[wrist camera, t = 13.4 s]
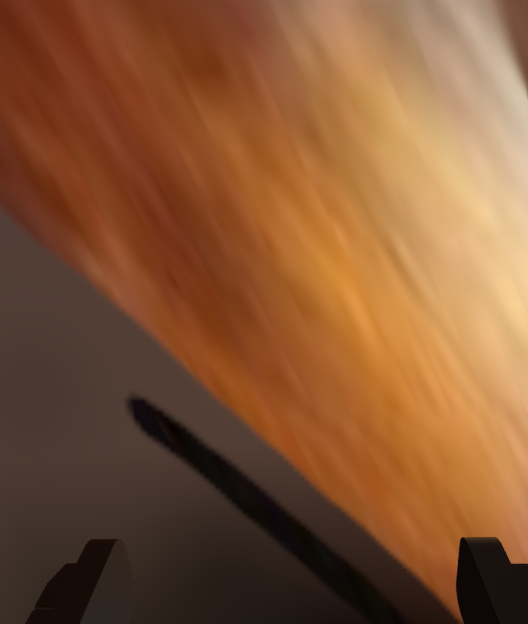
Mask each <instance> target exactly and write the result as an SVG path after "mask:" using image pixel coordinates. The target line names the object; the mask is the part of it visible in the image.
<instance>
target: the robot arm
mask: <svg viewBox="0 0 528 624" xmlns="http://www.w3.org/2000/svg"><path fill="white" fill-rule="evenodd" d="M456 592H457V600H458V605H459V609H460V613H461V616H462V619H463V622H464V624H528V564H511V563H510V561H509V558H508V556H507V554H506V552H505V550H504V548H503V546H502V544H501V542H500V541H499V540H498V538H496V537H462V538H461V540H460V546H459V557H458V567H457V578H456ZM134 601H135V580H134V577H133V573H132V569H131V565H130V562H129V558H128V554H127V551H126V547H125V543H124V541H123V540H122V539H91V540H90V541H88V543H87V544H86V546H85V547H84V550H83V552H82V553H81V555H80V557H79V559H78V561H77V563H75V564H65V565H64V567H63V568H62V569H61V570H60V571H59V572H58V573H57V574H56V575H55V576H54V577H53V578H52V579H51V580H50V581H49V582H48V583H47V585H46V587H45V589H44V590H43V592H42V594H41V596H40V598H39V600H38V601H37V603H36V605H35V610H34V611H32V612H31V614H30V616H29V618H28V620H27V622H26V623H25V624H128V622H129V619H130V616H131V613H132V610H133V606H134Z"/></svg>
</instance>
